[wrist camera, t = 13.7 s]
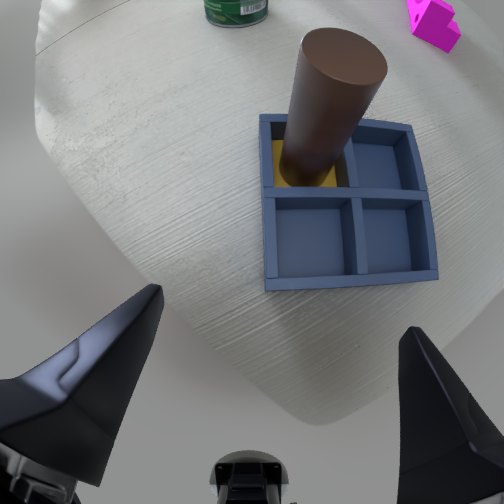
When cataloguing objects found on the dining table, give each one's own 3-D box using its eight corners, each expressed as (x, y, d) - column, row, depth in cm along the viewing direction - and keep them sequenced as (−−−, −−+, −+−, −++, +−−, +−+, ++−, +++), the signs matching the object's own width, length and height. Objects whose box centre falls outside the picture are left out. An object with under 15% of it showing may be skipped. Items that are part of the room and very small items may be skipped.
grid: (416, 282, 22) (439, 279, 18) (264, 291, 22) (266, 291, 19) (395, 143, 24) (411, 124, 20) (258, 136, 24) (259, 113, 20)
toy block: (448, 53, 26) (469, 23, 19) (412, 34, 27) (430, 0, 19) (436, 11, 28) (450, -15, 21) (405, -4, 29) (418, -32, 21)
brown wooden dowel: (329, 190, 22) (398, 91, 9) (280, 191, 22) (307, 80, 10) (324, 147, 23) (374, 34, 10) (277, 146, 23) (294, 23, 10)
